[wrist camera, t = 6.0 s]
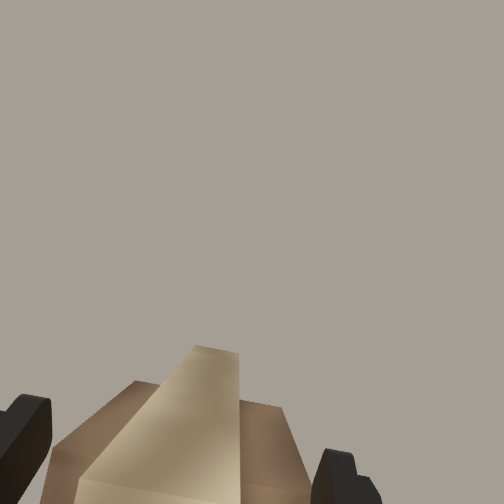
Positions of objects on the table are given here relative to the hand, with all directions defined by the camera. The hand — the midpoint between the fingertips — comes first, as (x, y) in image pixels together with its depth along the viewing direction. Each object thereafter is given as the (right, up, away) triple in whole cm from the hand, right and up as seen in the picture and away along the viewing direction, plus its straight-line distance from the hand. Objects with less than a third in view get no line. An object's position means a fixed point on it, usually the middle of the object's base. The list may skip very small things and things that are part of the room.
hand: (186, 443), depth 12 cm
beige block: (-1, -3, +5) cm, 6 cm away
